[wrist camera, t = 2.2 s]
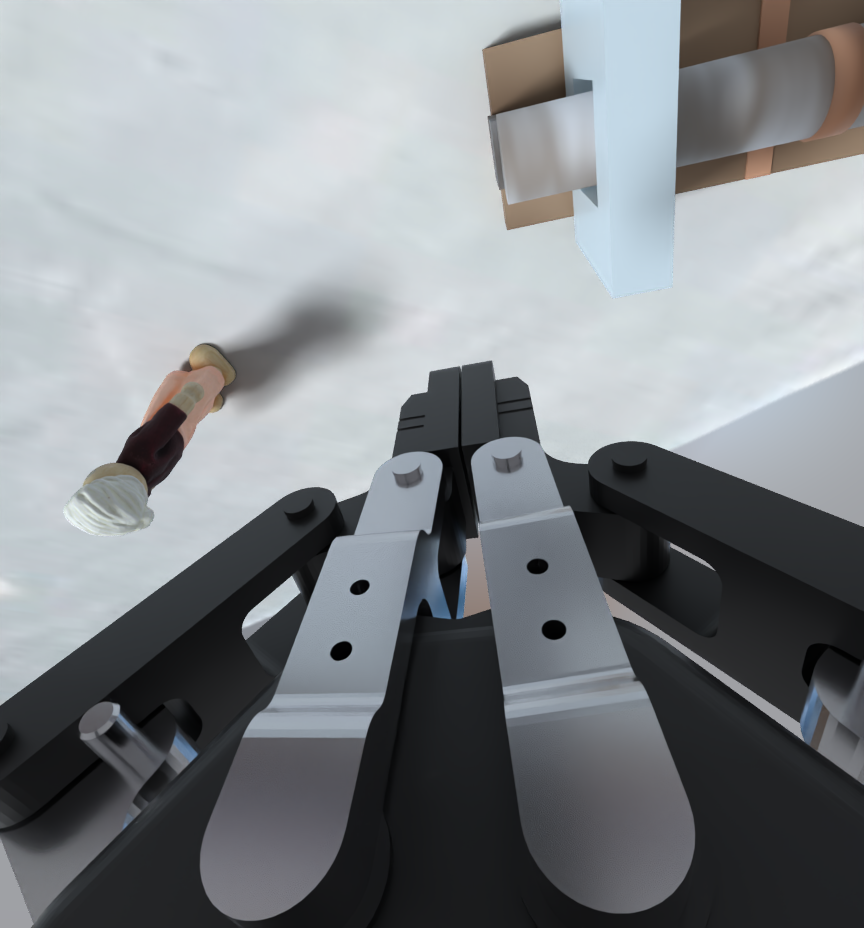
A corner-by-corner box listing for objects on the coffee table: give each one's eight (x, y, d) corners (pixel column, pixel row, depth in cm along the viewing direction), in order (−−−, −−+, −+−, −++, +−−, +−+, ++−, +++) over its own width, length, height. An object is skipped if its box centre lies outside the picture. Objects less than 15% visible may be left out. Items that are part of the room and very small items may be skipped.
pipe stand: (477, 51, 24) (483, 45, 17) (908, -65, 21) (1094, -120, 15) (501, 223, 28) (512, 269, 21) (866, 144, 25) (1000, 170, 19)
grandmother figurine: (181, 317, 31) (41, 441, 21) (248, 344, 32) (146, 477, 22) (162, 424, 35) (37, 571, 25) (222, 446, 36) (125, 597, 26)
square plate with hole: (559, -6, 21) (601, -37, 14) (614, -21, 21) (682, -60, 14) (575, 241, 26) (612, 298, 20) (620, 232, 26) (672, 287, 19)
